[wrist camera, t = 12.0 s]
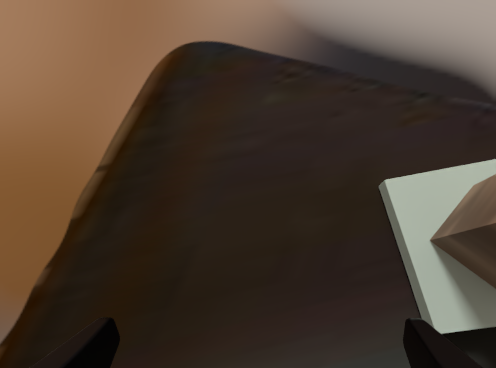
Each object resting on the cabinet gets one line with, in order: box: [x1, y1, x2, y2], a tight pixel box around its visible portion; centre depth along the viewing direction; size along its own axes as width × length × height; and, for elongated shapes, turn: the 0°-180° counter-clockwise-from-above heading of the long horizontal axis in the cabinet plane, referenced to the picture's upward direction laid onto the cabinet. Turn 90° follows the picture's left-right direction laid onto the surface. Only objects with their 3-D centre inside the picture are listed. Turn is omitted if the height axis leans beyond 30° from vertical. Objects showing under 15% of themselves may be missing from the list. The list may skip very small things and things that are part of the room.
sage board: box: [379, 159, 496, 334], centre depth 18 cm, size 10×10×2 cm
